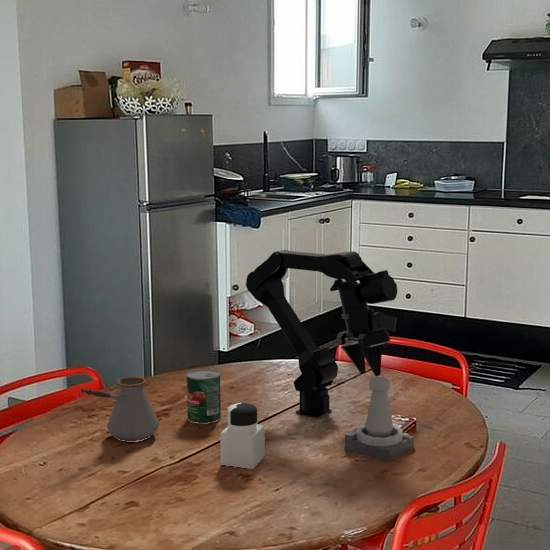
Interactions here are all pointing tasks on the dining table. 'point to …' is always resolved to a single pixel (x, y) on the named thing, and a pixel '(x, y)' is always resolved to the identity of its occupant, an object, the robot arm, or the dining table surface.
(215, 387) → the canned tomato
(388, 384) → the salt shaker
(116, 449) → the dining table surface
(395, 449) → the ringed square socket
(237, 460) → the medicine bottle
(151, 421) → the coffee pot
